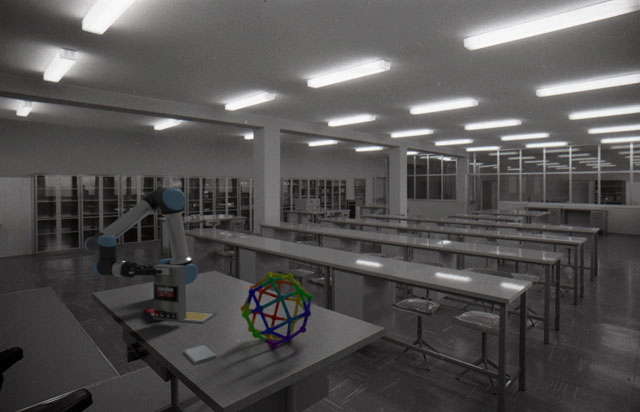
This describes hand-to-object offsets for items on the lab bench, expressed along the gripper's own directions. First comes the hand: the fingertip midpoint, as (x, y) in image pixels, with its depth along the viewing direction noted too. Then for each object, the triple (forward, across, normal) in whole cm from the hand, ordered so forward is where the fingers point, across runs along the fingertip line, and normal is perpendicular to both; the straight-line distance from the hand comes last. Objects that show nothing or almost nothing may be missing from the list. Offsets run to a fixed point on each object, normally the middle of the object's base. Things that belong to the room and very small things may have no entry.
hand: (170, 271), depth 168 cm
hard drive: (+28, +23, -27) cm, 45 cm away
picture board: (+1, -14, -26) cm, 30 cm away
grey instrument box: (-2, -2, -23) cm, 23 cm away
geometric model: (+53, +7, -26) cm, 60 cm away
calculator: (-14, -11, -27) cm, 32 cm away
